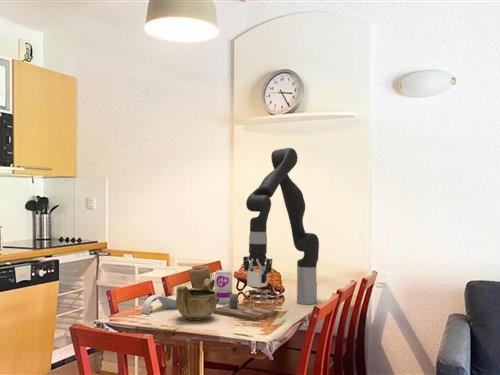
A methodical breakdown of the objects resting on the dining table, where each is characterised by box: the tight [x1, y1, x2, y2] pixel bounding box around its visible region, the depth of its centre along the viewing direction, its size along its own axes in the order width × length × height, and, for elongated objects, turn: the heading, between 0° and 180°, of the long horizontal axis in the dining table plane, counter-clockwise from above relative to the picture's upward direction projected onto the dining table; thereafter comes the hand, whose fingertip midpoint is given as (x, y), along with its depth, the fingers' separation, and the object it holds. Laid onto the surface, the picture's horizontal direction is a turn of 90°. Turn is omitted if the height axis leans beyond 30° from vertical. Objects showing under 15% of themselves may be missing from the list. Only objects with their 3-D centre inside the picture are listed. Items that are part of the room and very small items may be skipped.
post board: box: [212, 293, 279, 322], centre depth 225 cm, size 16×24×8 cm, turn 53°
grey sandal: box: [140, 294, 178, 315], centre depth 232 cm, size 24×12×7 cm, turn 147°
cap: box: [246, 269, 268, 288], centre depth 221 cm, size 6×6×6 cm
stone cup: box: [189, 265, 215, 291], centre depth 264 cm, size 15×12×15 cm
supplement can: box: [214, 269, 233, 305], centre depth 248 cm, size 8×8×15 cm
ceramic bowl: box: [175, 278, 218, 321], centre depth 215 cm, size 22×17×15 cm
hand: (257, 282), depth 221 cm, fingers closed on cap, 6 cm apart
